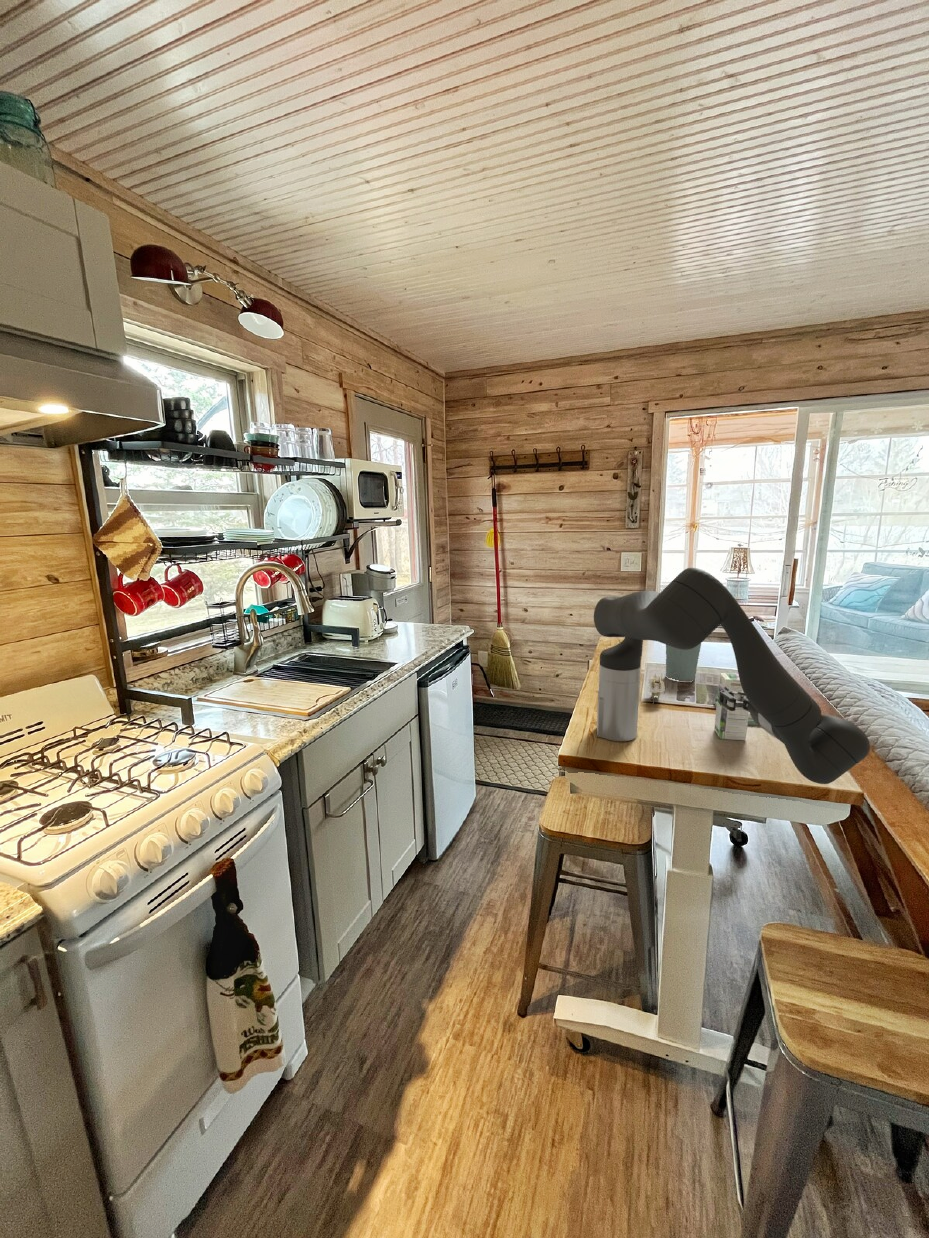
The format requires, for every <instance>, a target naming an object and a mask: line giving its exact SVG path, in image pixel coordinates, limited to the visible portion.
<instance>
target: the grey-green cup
mask: <svg viewBox="0 0 929 1238" xmlns="http://www.w3.org/2000/svg"><path fill="white" fill-rule="evenodd" d="M701 647H702V643H700V644H699V645H698V646H696V647H694V648H692V649H689V650H682V649H677V648H674V647H671V646H669V645H666V644H665V657H666V658H665V665H666V666H665V677H666V676H667V677H668V678H672V679H675V680H679V681H692V680H694V679H695V680H696V677H697V676H696V674H697V671H698V669H697V667H698V662H699V659H700V652H701ZM695 680H694V681H695Z"/></svg>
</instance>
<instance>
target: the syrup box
mask: <svg viewBox="0 0 929 1238" xmlns="http://www.w3.org/2000/svg"><path fill="white" fill-rule="evenodd" d="M724 687H729V688H731V689H732V690H733V691H735V692H742V691H743V689H742V686H741V683H740V679H739V674H738V673H735V672H734V673H733V672H721V673H720V674H719V681H718V692H717V697H718V698H717V707H716V706H715V707H716V709H715V718H714V731H715V732H716V734H717V736H718V738H719V739H721V740H733V741H735V740H736V741H747V733H748V732H747V731H748V726H749V725H748V716H749V711H746V710H743V709H739V708H737V707H736V708H735V711H730V710H728V709H727V708H726V707H724V706H723V705H722V704H720V703H719V697H720V691H723V689H724ZM734 697H736V700H737V696H736V695H734ZM745 698H746V696H744V699H745Z"/></svg>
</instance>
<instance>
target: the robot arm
mask: <svg viewBox="0 0 929 1238" xmlns="http://www.w3.org/2000/svg"><path fill="white" fill-rule="evenodd" d="M593 623H594V627H595V629H596V631H597V632H598V634H599V635H600V636H602V637H606V638H624V639H622V641H621V642H619V643H617V644H615V645H613V646H611V647H608V648H606V649H603V650H602V651H601V652H600V654H599V667H598V668H599V669H598V671H599V672H598V690H597V708H596V709H597V710H596V737H597V738H603V739H604V740H609V741H614V742H629V741H633V740H635V739H636V738H637V737H638V736H637V735H638V729H639V728H638V725H639V724H638V723H639V721H638V719H639V701H640V687H641V686H640V684H641V683H640V682H641V665H642V657H643V648H644V647H643V645H644V641H653V642H659V643H661V644H664V645H665V646H666V645H669V646H671V647H674V648H677V649H682V650H689V649H692V648H694V647H696V646H698V645H699V644H700V643H701V644H702V643H703V642H704V641H706V639H707V638H708V637H710V635H711V634H712V633H713V632H714V631H716V630H717V628H718V627H719V626H721V627H722V628H723V630H724V632H725V633H726V635H727V637H728V639H729V641H730V644H731V646H732V650H733V654H734V658H735V661H736V668H737V674H739V679H740V683H741V686H742V689H743V691H742V692H735V691H733V690H732V689H731V688H729V687H724V689H723V691H720V697H719V703H720V704H722V705H723V706H724V707H726V708H727V709H728V710H730V711H735V708H736V707H737V708H739V709H743V710H746V711H749V713H750V715H751V717H752V719H753V720H754V721H755V723H757V724H758V725H759V727H760V728H761V729H762V730H764V731H765V732H766V733H767V734H768V735H770V736H771V737H773V738H775V739H776V740H778V741H780V742H781V743H783V744H784V747H785V749H786V751H787V753H788V756H789V758H790V760H791V762H792V763H793V765H794V767H795V768H796V769H797V771H798V772H799V773H800V774H801V775H802V776H803V777H805V779H807V780H809V781H810V782H812V783H816V784H818V785H819V784H820V785H827V784H828V785H829V784H831V783H833V782H835V781H836V780H837V779H839V778H840V777H842V776H843V775H844V774H845V773H847V772H848V771H850V770H851V769H852V768H853V767H855V766H856V765H858V764H859V763H860V762H861V761H863V760H864V759H865V758H867V756H868V755H869V753H870V750H871V743H870V740H869V738H868V736H867V734H866V733H865V732H864V731H863V730H862V729H861V728H860V727H859V726H857V725H856V724H854V723H853V722H851V721H848V720H847V719H844V718H842V717H838V716H835V715H832V714H831V715H830V714H824V713H823V714H822V709H821V707H820V706H819V704H818V703H817V701H816V700H815V699H814V698H812V696H811V695H810V694H809V693H808V692H807V691H806V690H805V689H804V688H803V686H802V685H800V684H799V682H798V681H796V680H795V678H794V677H793V676H792V675H791V674H790V673H789V672H788V671H787V670H786V668H785V667H784V666H783V664H781V662H780V661H779V659H778V658H777V657H776V656H775V654H774V653H773V651H772V650H771V648H770V647H769V646H768V643H766V641H765V640H764V638H763V636H762V635H761V634H760V632H759V630H758V629H757V628H756V626H755V624H753V622H752V620H751V619H750V617H749V616H748V615H747V613H746V612H745V610H744V609H743V608H742V606H741V605H740V603H739V602H738V601H737V599H736V598H735V597H734V596H733V594H732V593H731V592H730V591H729V590H728V588H727V587H726V586H725V585H724V584H723V583H722V582H721V581H720V580H719V579H717V578H716V577H715V576H714V575H712V574H711V573H709V572H707V571H705V570H703V569H700V568H697V567H687V568H685V569H683V570H682V571H681V572H680V573H679V574H677V576H676V577H675V578H674V579H673V580H671V581H670V583H669V584H668V585H666V586H665V587H664V589H662V590H661V592H658V591H654V590H647V589H646V590H641V591H635V592H632V593H629V594H626V595H622V596H606V597H602V598H601V599H600V600H599V601H598V602H597V603H596V604H595V607H594V611H593ZM734 695H736V696H737V700H736V697H734ZM744 696H746V698H745V699H744Z"/></svg>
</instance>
